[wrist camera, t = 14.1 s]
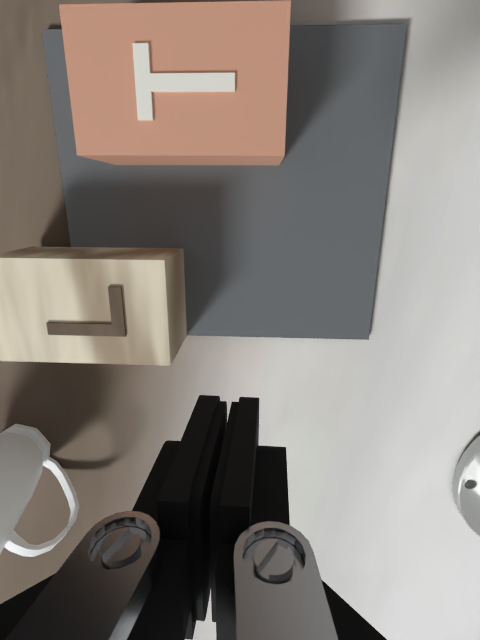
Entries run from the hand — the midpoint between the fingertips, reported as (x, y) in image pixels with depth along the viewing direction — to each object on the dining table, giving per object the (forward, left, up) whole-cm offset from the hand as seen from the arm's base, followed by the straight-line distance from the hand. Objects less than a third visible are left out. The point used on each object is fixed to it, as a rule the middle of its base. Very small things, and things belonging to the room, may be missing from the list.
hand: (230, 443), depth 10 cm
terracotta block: (-2, -12, -13) cm, 17 cm away
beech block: (+4, -1, -13) cm, 13 cm away
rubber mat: (+2, -6, -16) cm, 17 cm away
